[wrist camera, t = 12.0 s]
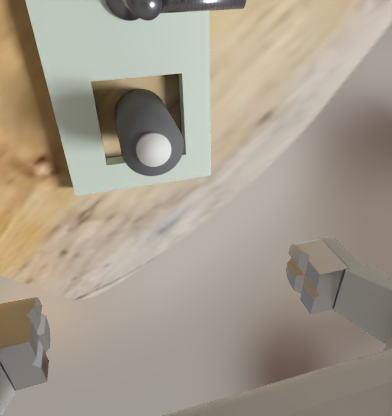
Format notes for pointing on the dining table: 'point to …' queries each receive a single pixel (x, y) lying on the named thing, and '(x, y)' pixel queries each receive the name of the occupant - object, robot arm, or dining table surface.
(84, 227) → the dining table surface
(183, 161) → the pale green board
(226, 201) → the dining table surface
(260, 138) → the dining table surface
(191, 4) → the grey angled rod part
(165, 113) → the grey cylinder with ball
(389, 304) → the robot arm
